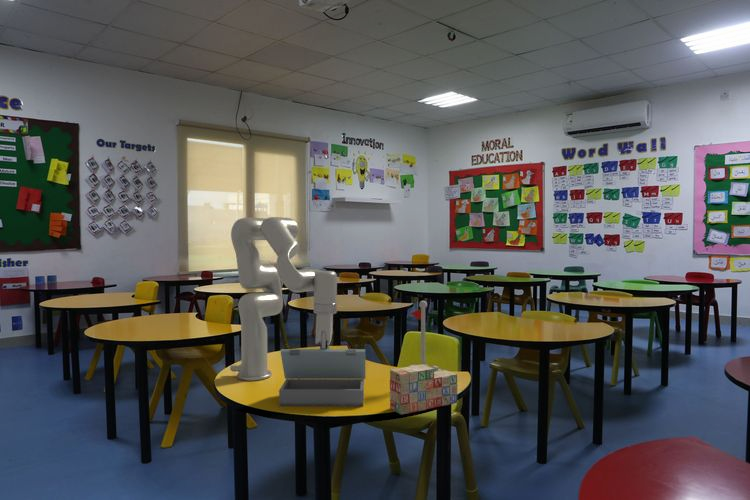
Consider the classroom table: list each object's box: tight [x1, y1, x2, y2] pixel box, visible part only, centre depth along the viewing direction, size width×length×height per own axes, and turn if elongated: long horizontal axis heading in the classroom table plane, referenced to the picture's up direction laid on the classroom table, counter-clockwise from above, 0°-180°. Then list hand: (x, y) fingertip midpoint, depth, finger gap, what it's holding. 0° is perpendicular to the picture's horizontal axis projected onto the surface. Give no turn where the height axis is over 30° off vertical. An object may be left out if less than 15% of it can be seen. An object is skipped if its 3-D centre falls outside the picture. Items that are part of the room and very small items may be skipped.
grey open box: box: [278, 379, 365, 407], centre depth 153 cm, size 26×12×5 cm, turn 90°
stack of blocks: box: [389, 364, 458, 415], centre depth 148 cm, size 21×6×12 cm, turn 119°
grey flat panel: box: [280, 348, 367, 380], centre depth 156 cm, size 27×13×2 cm
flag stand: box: [409, 300, 442, 372], centre depth 171 cm, size 13×13×30 cm
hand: (324, 363), depth 158 cm, fingers closed
